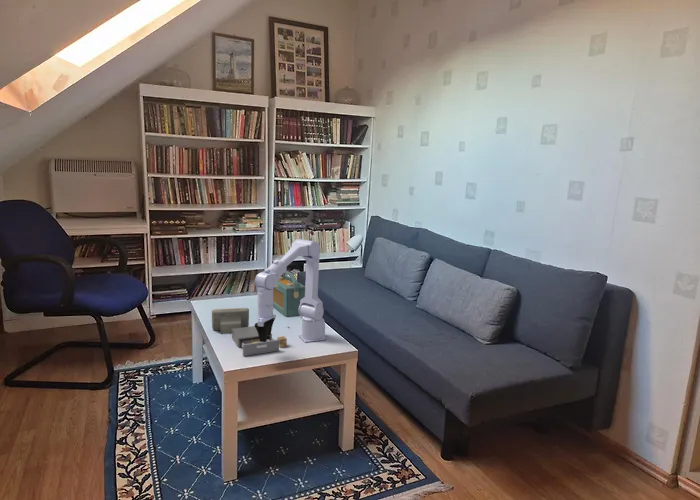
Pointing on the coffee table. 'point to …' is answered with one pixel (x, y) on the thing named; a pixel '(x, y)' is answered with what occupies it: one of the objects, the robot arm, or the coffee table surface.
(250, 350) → the grey drawer
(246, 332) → the player housing
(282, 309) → the radio
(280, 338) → the tan wooden block
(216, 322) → the digital clock
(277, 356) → the coffee table surface
